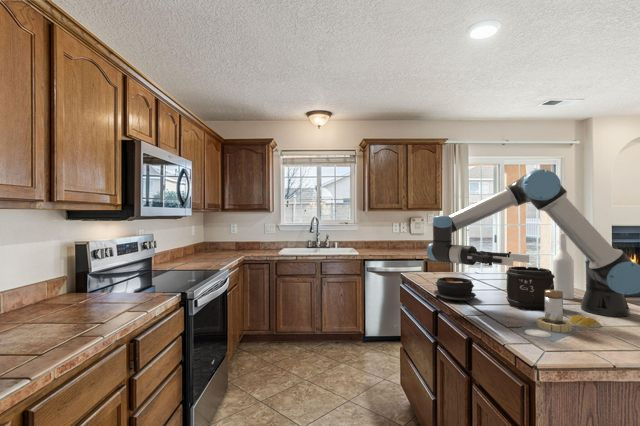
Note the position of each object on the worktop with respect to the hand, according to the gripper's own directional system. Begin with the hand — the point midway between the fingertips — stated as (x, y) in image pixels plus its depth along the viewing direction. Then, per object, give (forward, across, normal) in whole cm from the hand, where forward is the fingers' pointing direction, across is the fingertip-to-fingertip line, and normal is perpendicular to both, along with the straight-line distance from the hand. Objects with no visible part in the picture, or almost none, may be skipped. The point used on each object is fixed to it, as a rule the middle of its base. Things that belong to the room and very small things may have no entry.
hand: (521, 260), depth 123 cm
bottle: (-4, -59, -23) cm, 63 cm away
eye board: (+10, +5, -23) cm, 25 cm away
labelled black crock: (-8, -30, -23) cm, 39 cm away
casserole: (-37, -20, -23) cm, 48 cm away
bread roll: (+15, -13, -23) cm, 31 cm away
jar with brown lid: (+10, 0, -21) cm, 23 cm away
